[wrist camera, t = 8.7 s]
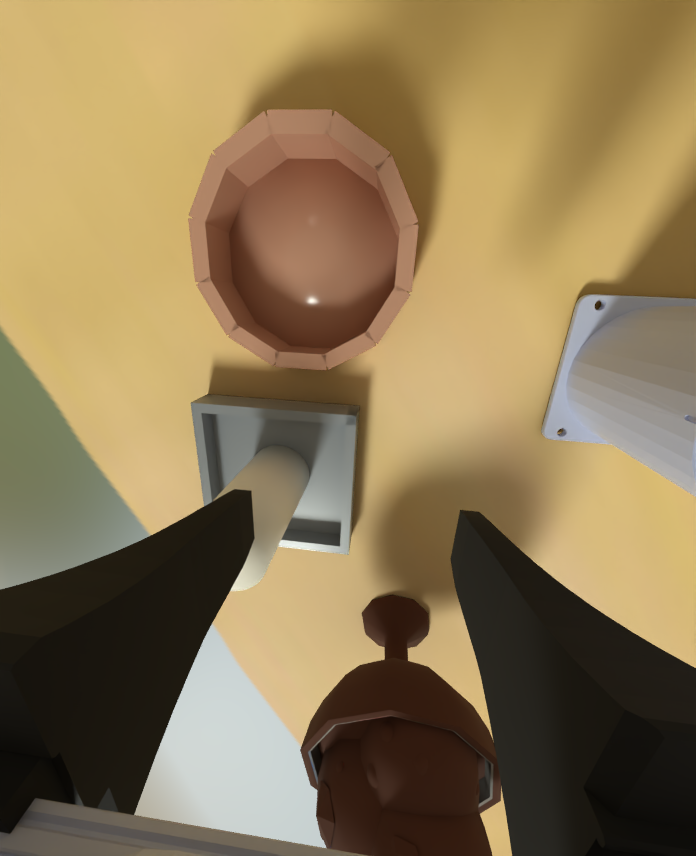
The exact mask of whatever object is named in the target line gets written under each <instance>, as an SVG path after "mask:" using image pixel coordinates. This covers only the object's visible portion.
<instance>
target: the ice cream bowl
mask: <svg viewBox="0 0 696 856" xmlns="http://www.w3.org/2000/svg"><path fill="white" fill-rule="evenodd" d="M362 617H363V623H364V629H365V633H366V635H367V636H369V637H370V638H371V639H372V640H373V641H374V642H375V643H377V644H378V645H379V646H383V647H385V660H381V661H376V662H372V663H367V664H363V665H359V666H358V667H357V668H355V669H354V670H352V671H351V672H349V673H348V674H346V675H345V676H344V677H343V679H342V680H341V681H340V682H339V683H338V684H337V685H336V686H335V688H334V689H333V690H332V691H331V692H330V693H329V694H328V696H327V697H326V698H325V699H324V700H323V702H322V703H321V705H320V707H319V708H318V710H317V712H316V713H315V715H314V716H313V718H312V720H311V722H310V725H309V727H308V730H307V733H306V736H305V739H304V741H303V744H302V747H301V750H300V751H301V754H302V757H303V761H304V764H305V767H306V771H307V774H308V777H309V781H310V784H311V786H313V787H314V788H315V789H317V790H318V792H317V796H318V797H317V811H316V817H317V821H318V825H319V830H320V835H321V837H322V839H323V840H324V842H325V845H326V847H327V849H333V850H339V851H344V852H350V853H356V854H362V855H367V856H492V852H491V848H490V845H489V841H488V837H487V834H486V830H485V827H484V825H483V822H482V819H481V817H480V813H482V812H483V811H485V810H487V809H488V808H490V807H491V806H493V805H495V804H496V803H498V802H500V801H501V780H500V774H499V768H498V762H497V757H496V751H495V746H494V742H493V740H492V737H491V735H490V732H489V730H488V728H487V727H486V725H485V724H484V722H483V721H482V719H481V717H480V716H479V714H478V713H477V711H476V710H475V708H474V707H473V706H472V705H471V704H470V703H469V702H468V701H467V700H466V699H465V698H463V697H462V696H461V695H460V694H459V693H458V692H457V691H456V690H455V689H453V688H452V687H451V686H450V685H449V684H448V683H447V682H446V681H444V680H443V679H442V678H441V677H440V676H439V675H437V674H436V673H435V672H434V671H433V670H431V669H430V668H429V667H427V666H424V665H421V664H417V663H413V662H409V661H408V650H407V648H410V647H415V646H417V645H418V644H419V643H420V642H421V641H422V640H423V639H424V638H425V637H426V636H427V635H428V632H429V619H428V613H427V612H426V611H425V610H424V609H423V608H422V607H421V606H420V605H419V604H418V603H417V602H416V601H415V600H413V599H408V598H404V597H400V596H395V595H390V596H386V597H382V598H378V599H375V600H372V601H371V602H370V604H369V605H368V606H367V607H366V609H365V610H364V611H363V612H362Z"/></svg>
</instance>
